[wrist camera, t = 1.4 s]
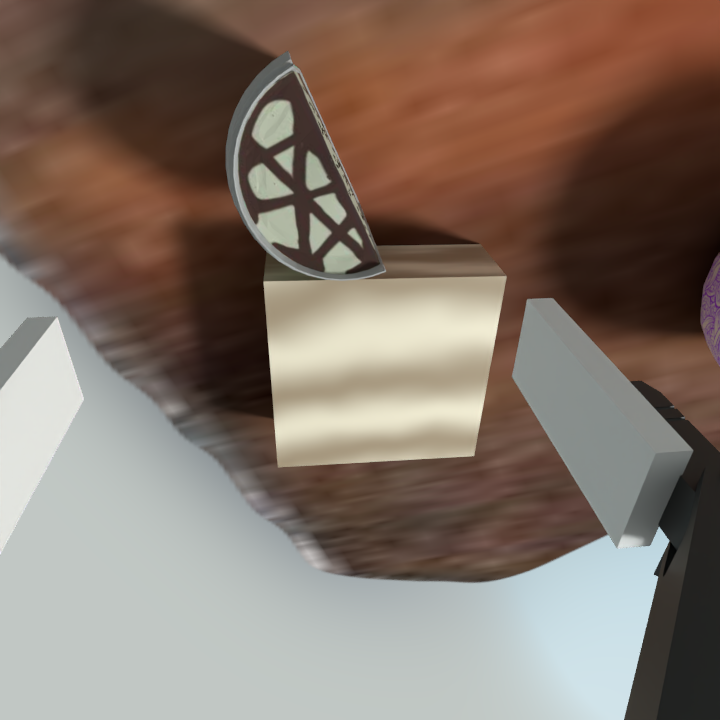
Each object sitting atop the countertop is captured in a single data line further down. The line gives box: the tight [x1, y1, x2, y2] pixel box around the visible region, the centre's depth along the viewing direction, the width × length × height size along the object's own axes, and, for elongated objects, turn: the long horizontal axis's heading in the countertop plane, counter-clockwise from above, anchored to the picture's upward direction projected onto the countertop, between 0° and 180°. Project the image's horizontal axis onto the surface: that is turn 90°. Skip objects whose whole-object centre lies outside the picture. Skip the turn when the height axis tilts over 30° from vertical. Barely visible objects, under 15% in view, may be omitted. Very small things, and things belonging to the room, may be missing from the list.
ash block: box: [263, 244, 507, 467], centre depth 42 cm, size 16×16×6 cm
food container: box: [226, 51, 386, 281], centre depth 32 cm, size 12×6×10 cm, turn 24°
